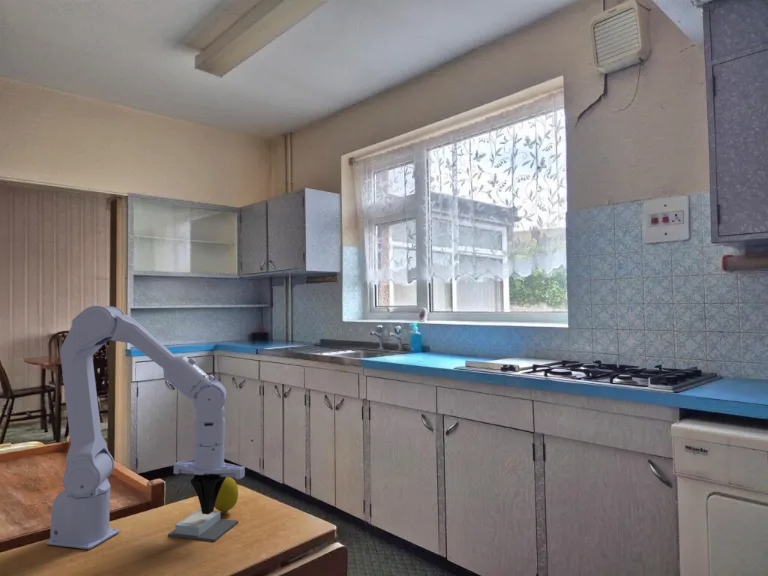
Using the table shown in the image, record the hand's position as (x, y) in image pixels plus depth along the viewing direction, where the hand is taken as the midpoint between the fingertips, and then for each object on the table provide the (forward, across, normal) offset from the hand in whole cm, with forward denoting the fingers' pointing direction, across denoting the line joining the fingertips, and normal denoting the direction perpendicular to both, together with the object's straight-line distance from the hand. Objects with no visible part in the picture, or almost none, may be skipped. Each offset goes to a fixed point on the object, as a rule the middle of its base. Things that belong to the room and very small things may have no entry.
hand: (207, 512), depth 103 cm
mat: (+3, -1, 0) cm, 3 cm away
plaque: (+2, 0, 0) cm, 2 cm away
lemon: (+4, -1, +8) cm, 9 cm away
